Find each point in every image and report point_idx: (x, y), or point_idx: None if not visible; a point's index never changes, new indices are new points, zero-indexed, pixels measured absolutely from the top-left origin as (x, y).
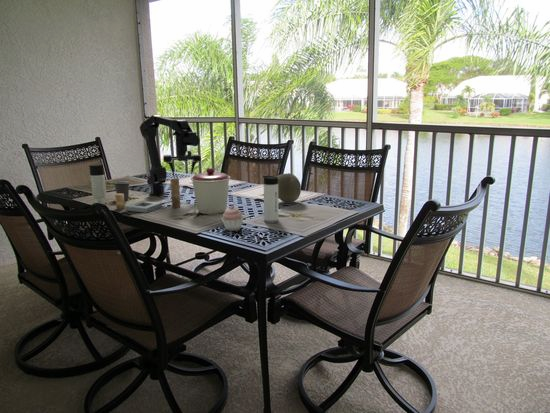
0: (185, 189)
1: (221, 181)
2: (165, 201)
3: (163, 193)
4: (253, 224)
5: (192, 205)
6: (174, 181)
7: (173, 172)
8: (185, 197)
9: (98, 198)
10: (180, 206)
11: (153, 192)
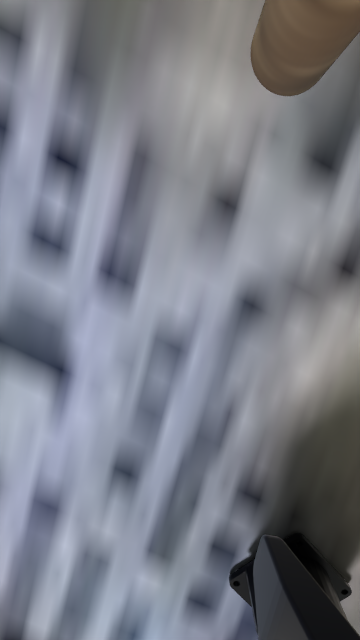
0: (60, 635)
1: None
2: (306, 334)
3: (252, 562)
4: None
5: (130, 50)
6: None
7: (295, 584)
8: (117, 397)
9: None
10: (253, 37)
11: (332, 586)
